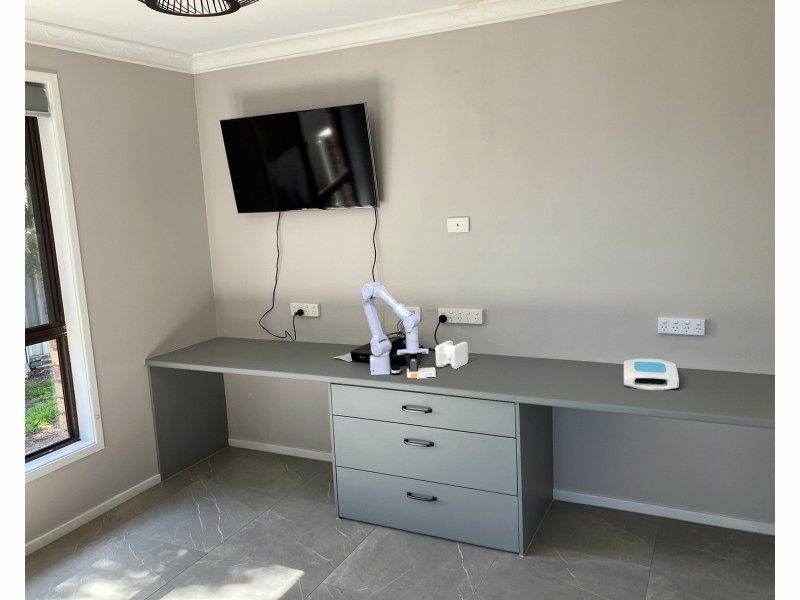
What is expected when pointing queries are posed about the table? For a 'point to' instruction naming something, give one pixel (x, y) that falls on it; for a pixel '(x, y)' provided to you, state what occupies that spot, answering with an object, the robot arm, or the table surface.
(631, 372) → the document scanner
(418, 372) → the white printed box
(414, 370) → the plug
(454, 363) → the cable organizer
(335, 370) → the table surface
